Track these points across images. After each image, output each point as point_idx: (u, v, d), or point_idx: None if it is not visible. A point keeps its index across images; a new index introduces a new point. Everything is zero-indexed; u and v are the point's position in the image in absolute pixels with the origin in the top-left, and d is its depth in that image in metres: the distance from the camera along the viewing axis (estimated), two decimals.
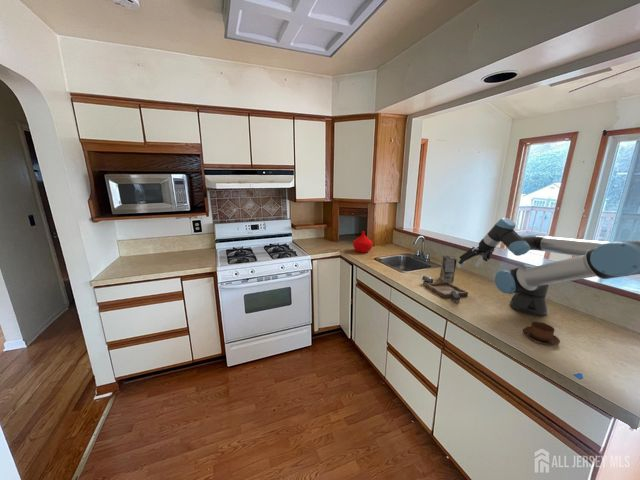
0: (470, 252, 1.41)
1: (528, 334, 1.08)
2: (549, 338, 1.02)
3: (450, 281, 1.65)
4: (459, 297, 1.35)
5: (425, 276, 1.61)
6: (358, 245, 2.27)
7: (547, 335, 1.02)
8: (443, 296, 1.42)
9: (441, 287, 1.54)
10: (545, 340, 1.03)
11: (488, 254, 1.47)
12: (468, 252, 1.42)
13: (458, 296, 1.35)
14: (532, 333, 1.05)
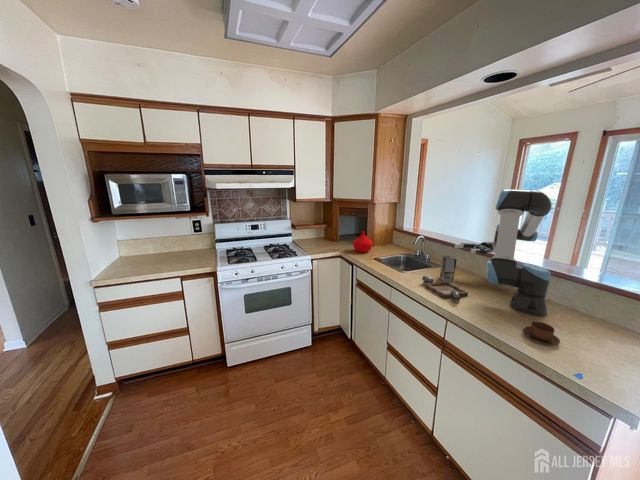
0: None
1: (528, 334, 1.08)
2: (549, 338, 1.02)
3: (450, 281, 1.65)
4: (459, 297, 1.35)
5: (425, 276, 1.61)
6: (358, 245, 2.27)
7: (547, 335, 1.02)
8: (443, 296, 1.42)
9: (441, 287, 1.54)
10: (545, 340, 1.03)
11: None
12: None
13: (458, 296, 1.35)
14: (532, 333, 1.05)
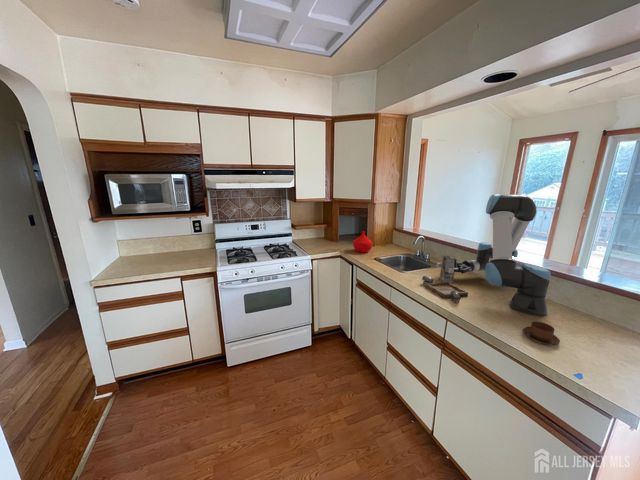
0: None
1: (528, 334, 1.09)
2: (549, 338, 1.02)
3: (450, 281, 1.65)
4: (459, 297, 1.35)
5: (425, 276, 1.61)
6: (358, 245, 2.27)
7: (547, 335, 1.02)
8: (443, 296, 1.42)
9: (441, 287, 1.54)
10: (545, 340, 1.03)
11: None
12: None
13: (458, 296, 1.35)
14: (532, 333, 1.06)
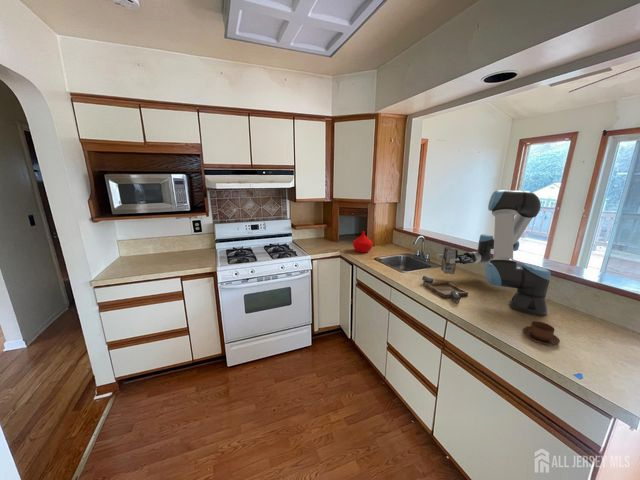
0: None
1: (528, 334, 1.09)
2: (549, 338, 1.02)
3: (451, 272, 1.63)
4: (459, 297, 1.35)
5: (425, 276, 1.61)
6: (358, 245, 2.27)
7: (547, 335, 1.02)
8: (443, 296, 1.42)
9: (441, 287, 1.54)
10: (545, 340, 1.03)
11: None
12: None
13: (458, 296, 1.35)
14: (532, 333, 1.06)
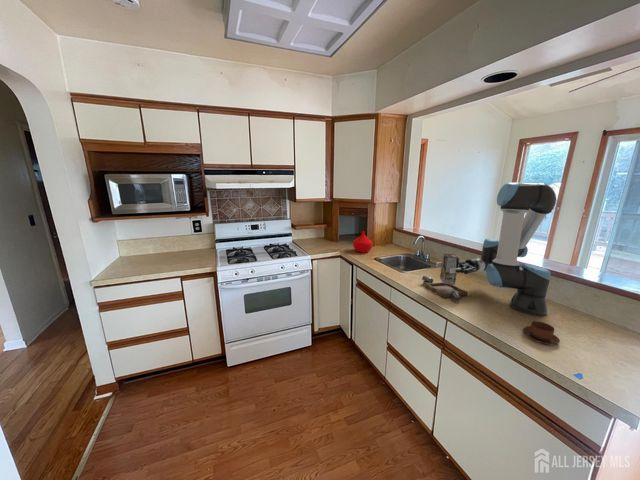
0: None
1: (528, 334, 1.09)
2: (549, 338, 1.02)
3: (452, 283, 1.45)
4: (459, 297, 1.35)
5: (425, 276, 1.61)
6: (358, 245, 2.27)
7: (547, 335, 1.02)
8: (443, 296, 1.42)
9: (441, 287, 1.54)
10: (545, 340, 1.03)
11: None
12: None
13: (458, 296, 1.35)
14: (532, 333, 1.06)
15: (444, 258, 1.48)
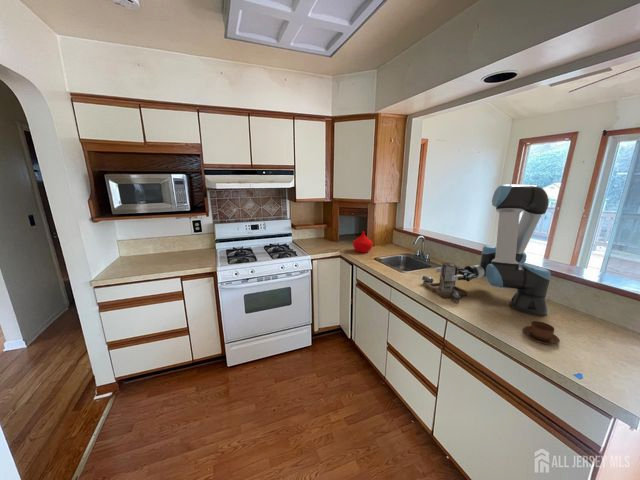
0: None
1: (528, 333, 1.09)
2: (549, 337, 1.02)
3: (450, 291, 1.46)
4: (459, 297, 1.35)
5: (425, 276, 1.61)
6: (358, 245, 2.27)
7: (547, 335, 1.02)
8: (443, 296, 1.42)
9: None
10: (545, 339, 1.03)
11: None
12: None
13: (458, 296, 1.35)
14: (532, 332, 1.06)
15: (443, 267, 1.49)
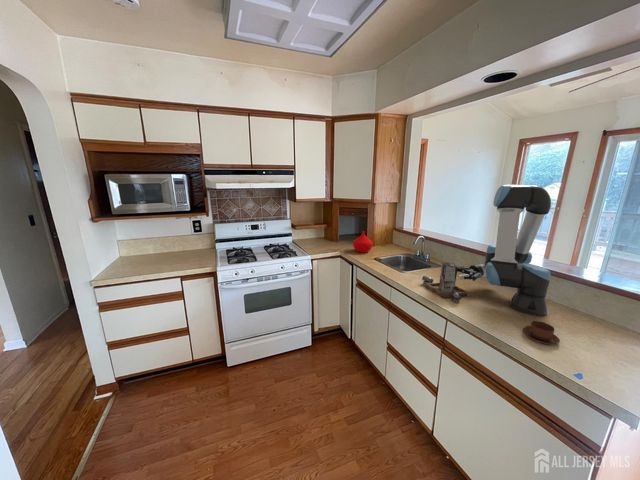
0: None
1: (528, 333, 1.09)
2: (549, 337, 1.02)
3: (450, 291, 1.46)
4: (459, 297, 1.35)
5: (425, 276, 1.61)
6: (358, 245, 2.27)
7: (547, 335, 1.02)
8: (443, 296, 1.42)
9: None
10: (545, 339, 1.03)
11: None
12: None
13: (458, 296, 1.35)
14: (532, 332, 1.06)
15: (443, 267, 1.49)
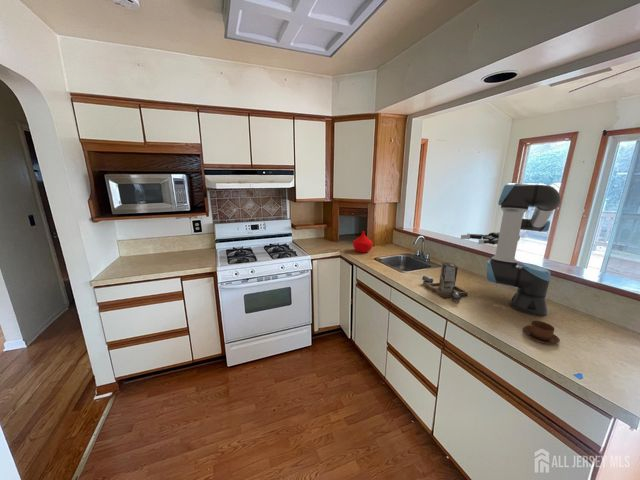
0: None
1: (528, 333, 1.09)
2: (549, 337, 1.03)
3: (450, 291, 1.46)
4: (459, 297, 1.35)
5: (425, 276, 1.61)
6: (358, 245, 2.27)
7: (547, 334, 1.02)
8: (443, 296, 1.42)
9: None
10: (545, 339, 1.03)
11: None
12: None
13: (458, 296, 1.35)
14: (532, 332, 1.06)
15: (443, 267, 1.49)
